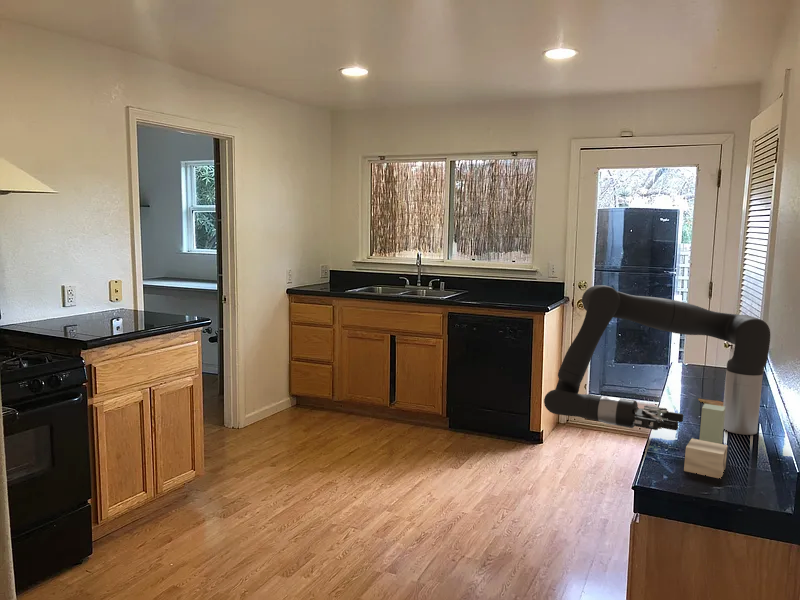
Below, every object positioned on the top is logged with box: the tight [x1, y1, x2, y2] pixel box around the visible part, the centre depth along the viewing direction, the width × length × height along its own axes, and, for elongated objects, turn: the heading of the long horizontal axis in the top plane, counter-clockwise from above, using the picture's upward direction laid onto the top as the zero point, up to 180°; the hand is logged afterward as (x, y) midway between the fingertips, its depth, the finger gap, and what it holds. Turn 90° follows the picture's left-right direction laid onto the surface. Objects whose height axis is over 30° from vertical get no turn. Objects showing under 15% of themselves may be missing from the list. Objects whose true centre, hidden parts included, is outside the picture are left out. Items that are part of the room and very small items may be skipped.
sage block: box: [698, 403, 726, 444], centre depth 167 cm, size 5×5×12 cm
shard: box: [697, 397, 724, 406], centre depth 215 cm, size 11×8×2 cm
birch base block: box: [683, 438, 728, 480], centre depth 155 cm, size 8×8×6 cm
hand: (680, 422), depth 171 cm, fingers open, 8 cm apart
